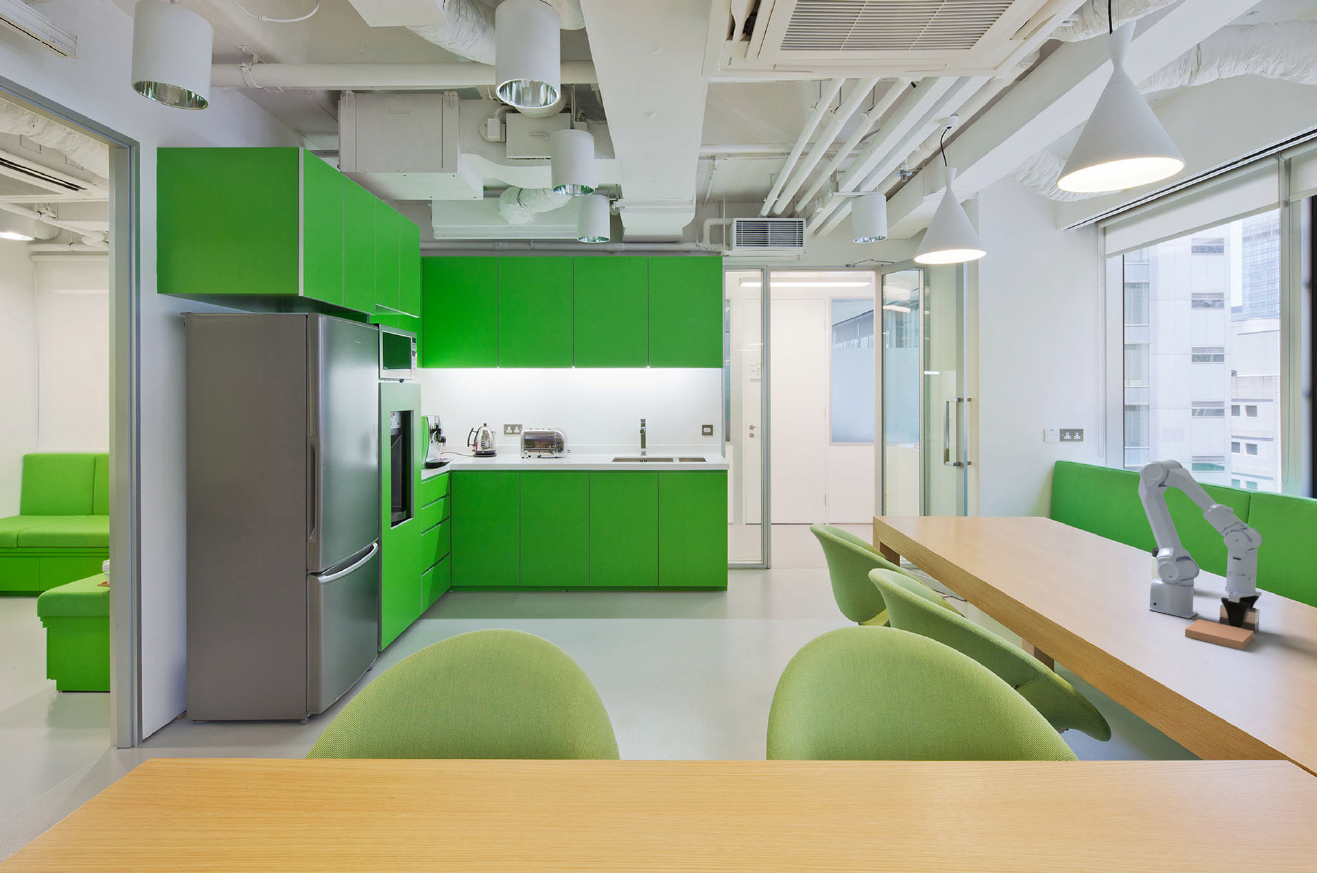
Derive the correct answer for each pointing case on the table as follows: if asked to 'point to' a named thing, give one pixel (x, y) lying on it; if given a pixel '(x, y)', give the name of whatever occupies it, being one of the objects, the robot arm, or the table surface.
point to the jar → (1154, 564)
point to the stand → (1220, 634)
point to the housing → (1248, 622)
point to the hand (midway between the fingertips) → (1239, 623)
